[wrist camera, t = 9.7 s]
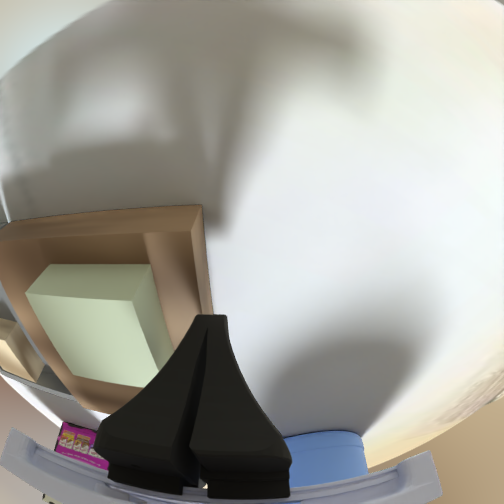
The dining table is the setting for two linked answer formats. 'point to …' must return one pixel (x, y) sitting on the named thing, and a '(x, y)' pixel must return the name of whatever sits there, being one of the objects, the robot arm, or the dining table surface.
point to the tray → (47, 378)
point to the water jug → (325, 458)
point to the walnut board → (110, 252)
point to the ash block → (18, 352)
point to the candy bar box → (77, 449)
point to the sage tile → (103, 320)
